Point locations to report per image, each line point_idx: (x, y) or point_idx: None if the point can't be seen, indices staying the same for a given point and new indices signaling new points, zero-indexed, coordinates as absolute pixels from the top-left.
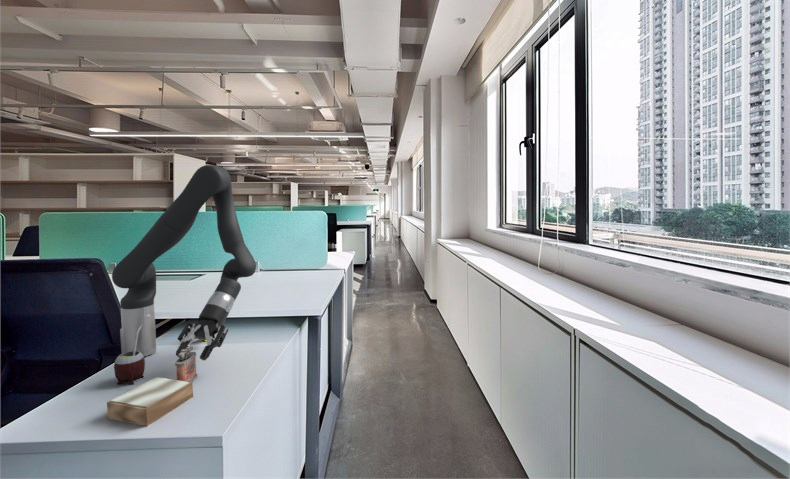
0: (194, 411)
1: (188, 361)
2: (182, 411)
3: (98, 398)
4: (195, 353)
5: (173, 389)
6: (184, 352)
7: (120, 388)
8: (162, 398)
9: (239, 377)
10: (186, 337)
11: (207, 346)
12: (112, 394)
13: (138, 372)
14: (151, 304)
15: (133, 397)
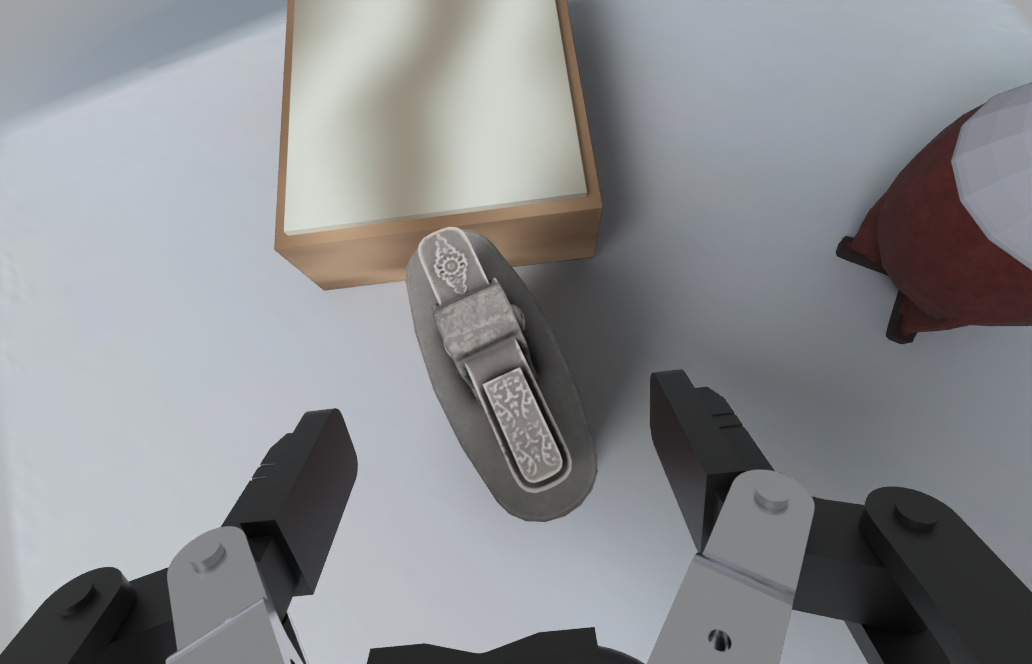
0: (209, 201)
1: (416, 330)
2: (268, 180)
3: (821, 92)
4: (491, 488)
5: (308, 134)
6: (442, 290)
7: (847, 194)
8: (293, 63)
9: None
10: (765, 557)
11: (245, 519)
12: (802, 140)
13: (883, 252)
14: None
15: (456, 5)
